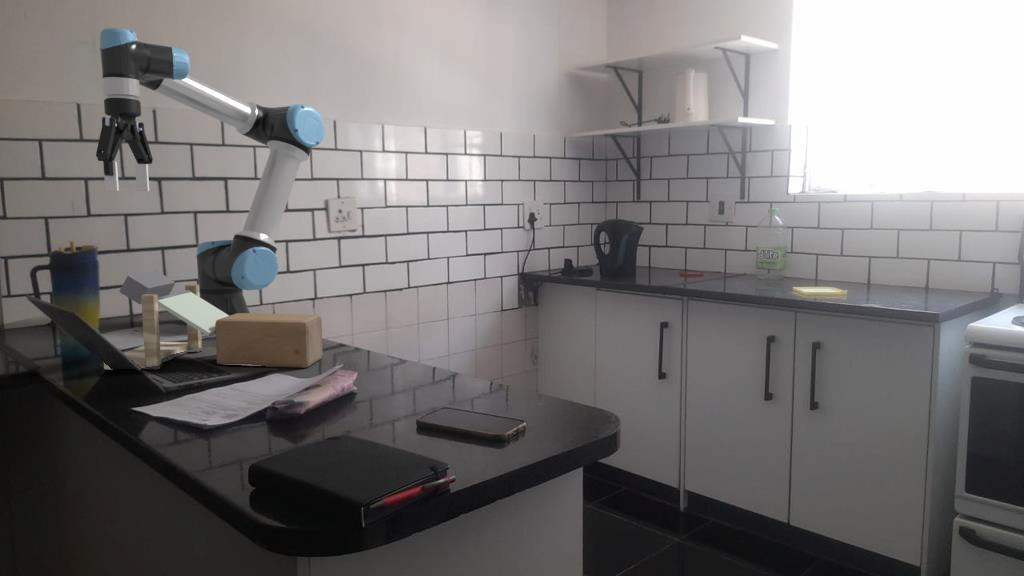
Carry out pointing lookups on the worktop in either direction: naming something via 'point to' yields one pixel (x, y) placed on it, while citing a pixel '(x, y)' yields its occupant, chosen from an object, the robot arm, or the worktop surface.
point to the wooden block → (269, 339)
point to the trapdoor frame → (152, 345)
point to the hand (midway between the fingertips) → (128, 191)
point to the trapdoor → (173, 300)
